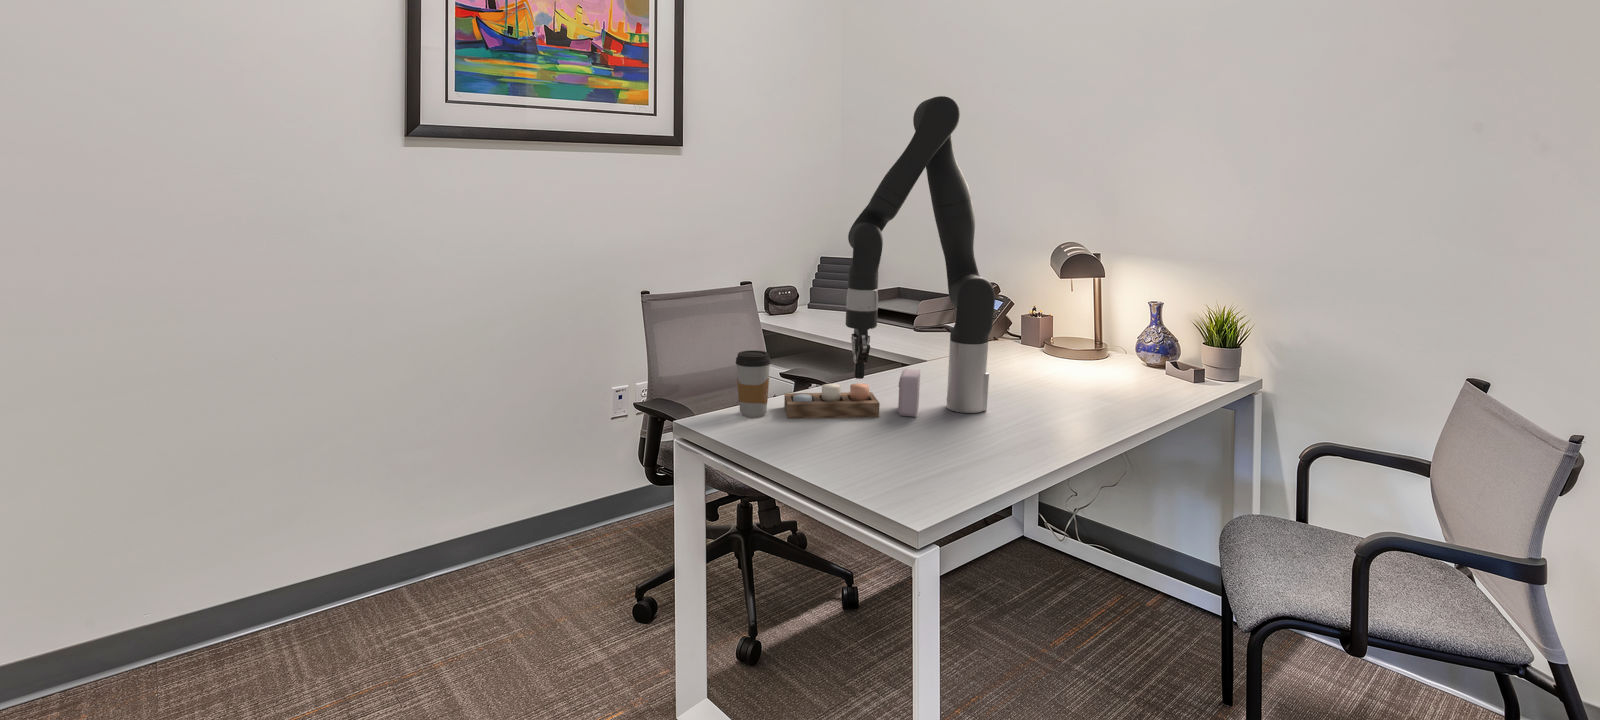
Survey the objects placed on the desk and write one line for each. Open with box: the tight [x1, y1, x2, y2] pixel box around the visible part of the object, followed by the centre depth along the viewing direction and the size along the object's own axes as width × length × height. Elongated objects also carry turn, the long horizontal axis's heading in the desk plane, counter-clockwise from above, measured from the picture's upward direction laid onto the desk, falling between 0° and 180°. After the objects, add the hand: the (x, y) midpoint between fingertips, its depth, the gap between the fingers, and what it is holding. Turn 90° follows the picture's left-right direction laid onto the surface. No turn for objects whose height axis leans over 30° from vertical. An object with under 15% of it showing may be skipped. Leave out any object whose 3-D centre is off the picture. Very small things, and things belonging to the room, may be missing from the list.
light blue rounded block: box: [793, 394, 812, 402], centre depth 191 cm, size 5×5×3 cm
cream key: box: [821, 383, 842, 401], centre depth 191 cm, size 5×5×3 cm
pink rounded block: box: [849, 382, 870, 401], centre depth 192 cm, size 5×5×3 cm
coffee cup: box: [735, 349, 771, 419], centre depth 188 cm, size 8×8×15 cm
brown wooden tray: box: [783, 391, 881, 420], centre depth 192 cm, size 22×10×4 cm, turn 96°
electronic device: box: [897, 368, 921, 418], centre depth 192 cm, size 10×5×10 cm, turn 168°
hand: (858, 377), depth 191 cm, fingers closed
